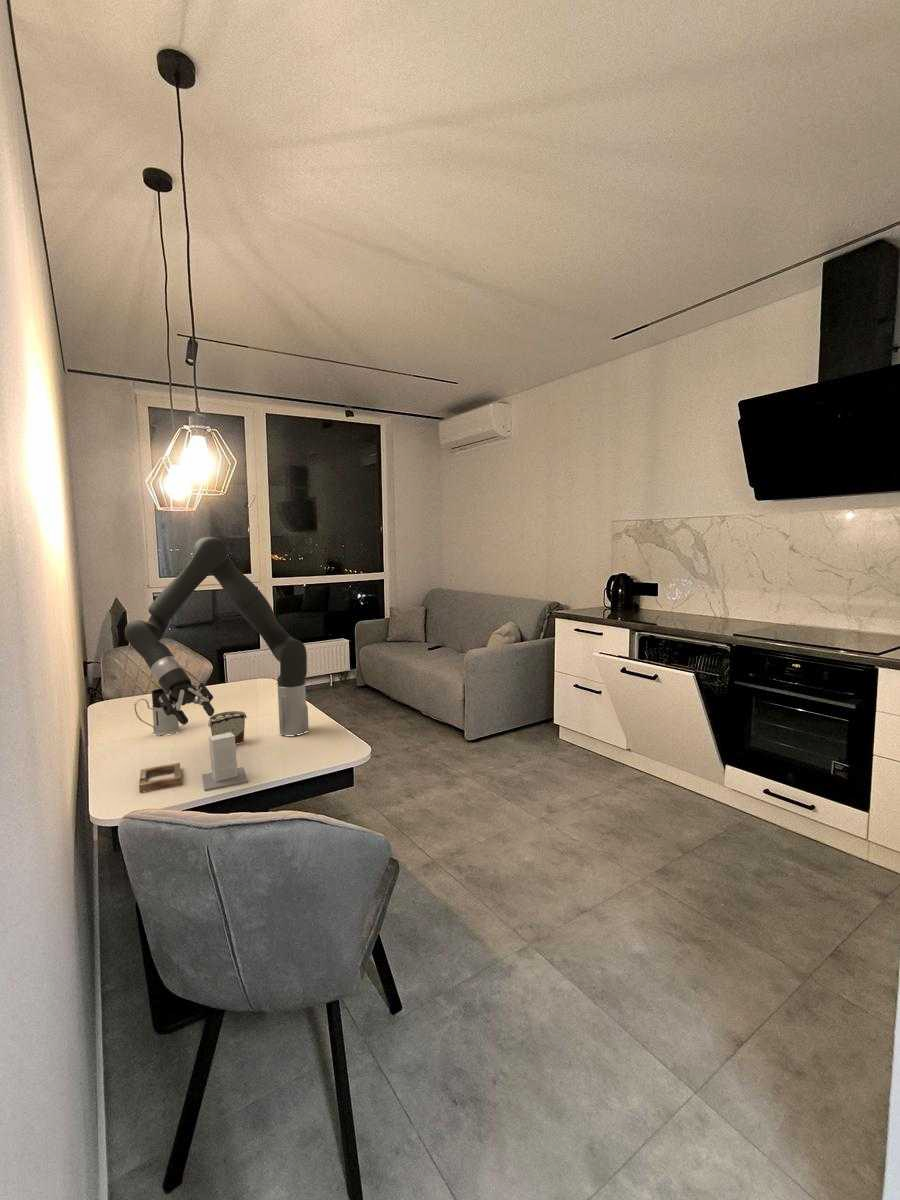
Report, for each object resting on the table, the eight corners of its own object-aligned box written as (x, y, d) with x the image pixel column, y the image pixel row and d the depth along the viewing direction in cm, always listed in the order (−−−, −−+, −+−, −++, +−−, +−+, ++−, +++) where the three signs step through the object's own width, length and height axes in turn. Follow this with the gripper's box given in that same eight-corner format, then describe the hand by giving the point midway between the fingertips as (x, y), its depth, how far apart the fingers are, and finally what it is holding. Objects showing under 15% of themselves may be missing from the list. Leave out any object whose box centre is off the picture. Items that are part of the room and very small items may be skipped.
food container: (240, 736, 189) (238, 708, 188) (248, 741, 185) (246, 712, 184) (203, 746, 181) (201, 716, 180) (210, 751, 176) (208, 720, 175)
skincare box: (233, 771, 158) (231, 731, 157) (237, 776, 155) (235, 735, 154) (211, 777, 155) (208, 736, 154) (215, 782, 151) (212, 740, 150)
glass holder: (184, 731, 196) (182, 689, 194) (142, 742, 185) (139, 698, 183) (173, 726, 201) (170, 685, 200) (131, 737, 190) (128, 694, 189)
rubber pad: (243, 768, 162) (243, 766, 162) (248, 782, 152) (248, 780, 152) (202, 776, 157) (202, 774, 157) (204, 791, 147) (204, 789, 147)
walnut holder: (180, 769, 162) (179, 761, 162) (181, 784, 152) (180, 776, 151) (141, 776, 158) (140, 767, 157) (139, 792, 147) (138, 783, 147)
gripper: (152, 672, 154) (182, 718, 149) (197, 662, 166) (225, 704, 162) (142, 689, 157) (171, 734, 152) (186, 677, 169) (214, 719, 165)
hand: (199, 718), depth 157 cm, fingers open, 8 cm apart
